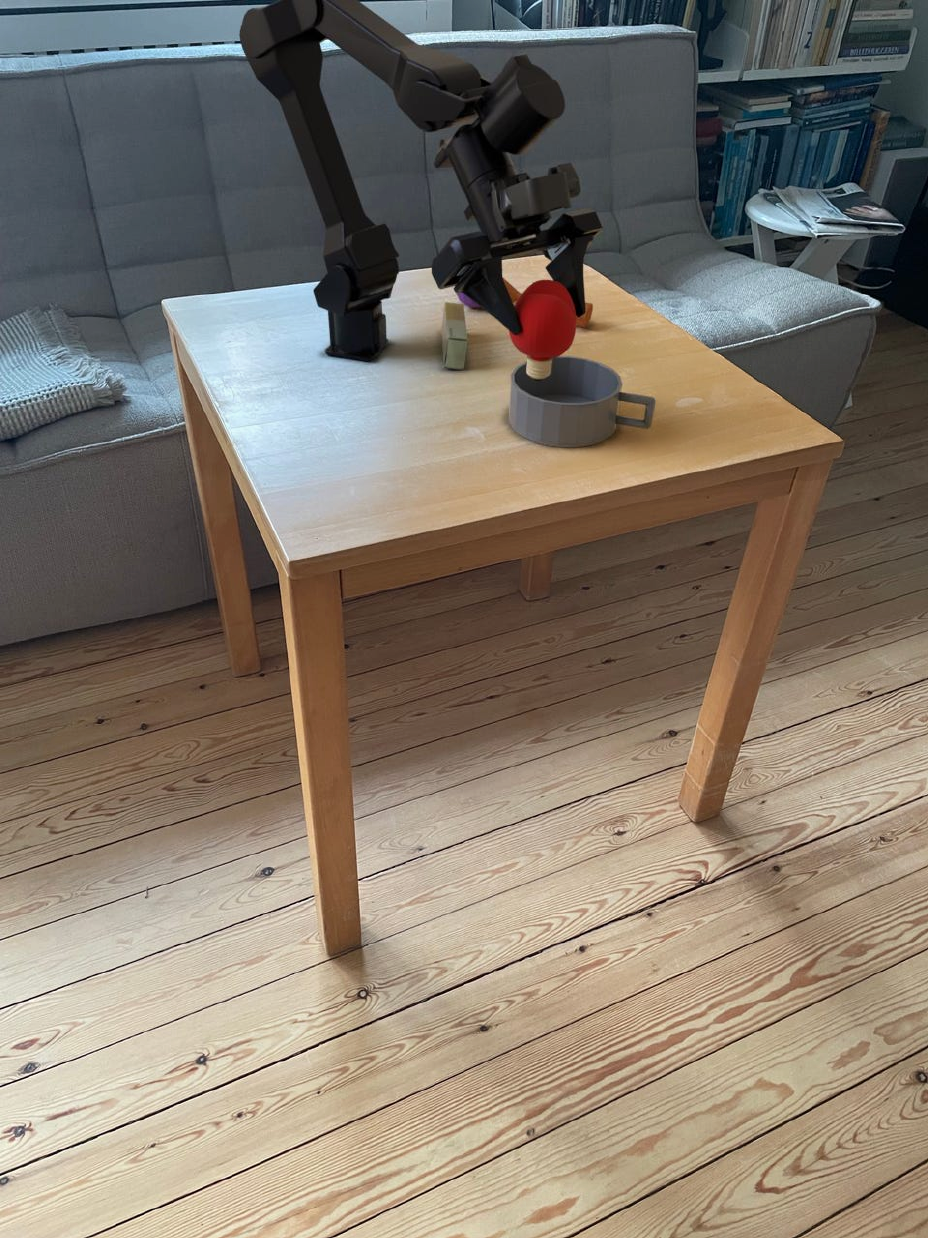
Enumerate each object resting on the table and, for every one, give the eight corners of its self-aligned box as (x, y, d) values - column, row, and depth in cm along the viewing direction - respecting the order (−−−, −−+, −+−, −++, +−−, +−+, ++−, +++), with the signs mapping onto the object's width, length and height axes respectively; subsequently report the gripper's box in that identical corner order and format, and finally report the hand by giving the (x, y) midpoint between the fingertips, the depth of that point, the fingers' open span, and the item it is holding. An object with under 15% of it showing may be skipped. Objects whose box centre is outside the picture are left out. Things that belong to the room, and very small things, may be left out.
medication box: (464, 370, 117) (468, 340, 115) (443, 369, 117) (447, 338, 114) (459, 330, 126) (463, 301, 124) (440, 328, 126) (443, 299, 123)
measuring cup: (495, 436, 104) (497, 393, 101) (524, 389, 113) (527, 349, 110) (640, 461, 100) (647, 418, 97) (658, 411, 110) (665, 370, 106)
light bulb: (564, 403, 97) (574, 309, 90) (498, 394, 98) (503, 301, 91) (575, 365, 104) (585, 275, 97) (513, 357, 105) (519, 268, 98)
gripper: (449, 146, 83) (518, 307, 84) (602, 122, 92) (664, 268, 93) (403, 214, 93) (464, 358, 94) (544, 187, 102) (600, 318, 102)
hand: (551, 324), depth 95 cm, fingers closed on light bulb, 8 cm apart
